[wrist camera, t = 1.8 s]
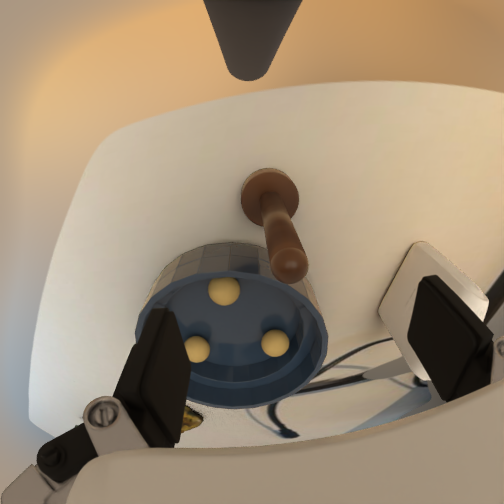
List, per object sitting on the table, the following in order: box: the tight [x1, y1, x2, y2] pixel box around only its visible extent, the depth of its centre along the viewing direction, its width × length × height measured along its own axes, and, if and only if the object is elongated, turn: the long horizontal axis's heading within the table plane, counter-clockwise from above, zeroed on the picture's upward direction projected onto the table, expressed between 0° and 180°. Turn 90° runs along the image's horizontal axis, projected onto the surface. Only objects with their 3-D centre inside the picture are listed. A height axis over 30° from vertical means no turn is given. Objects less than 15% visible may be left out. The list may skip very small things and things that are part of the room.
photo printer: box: [378, 242, 489, 381], centre depth 25 cm, size 10×4×12 cm, turn 162°
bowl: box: [135, 242, 328, 409], centre depth 29 cm, size 18×18×6 cm
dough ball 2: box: [208, 277, 240, 305], centre depth 27 cm, size 3×3×3 cm
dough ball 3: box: [261, 329, 289, 357], centre depth 31 cm, size 3×3×3 cm
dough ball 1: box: [184, 336, 210, 363], centre depth 31 cm, size 3×3×3 cm
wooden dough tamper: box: [241, 168, 309, 284], centre depth 19 cm, size 5×5×14 cm
